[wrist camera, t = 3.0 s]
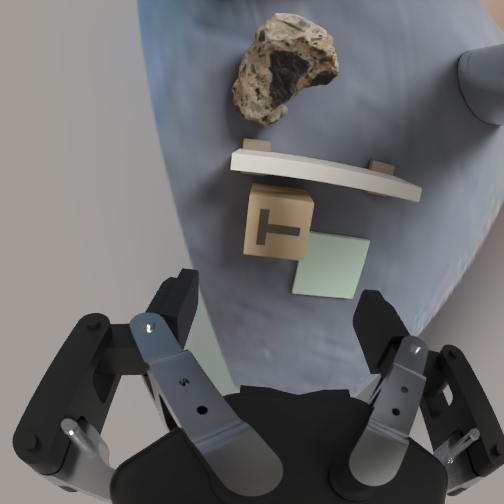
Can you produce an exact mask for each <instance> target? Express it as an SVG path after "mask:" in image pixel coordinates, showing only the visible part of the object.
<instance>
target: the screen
mask: <svg viewBox="0 0 504 504" xmlns="http://www.w3.org/2000/svg"><path fill="white" fill-rule="evenodd" d="M270 147H271V141H265V140H257V139H247V138H244V141H243V149H238V150H237V151H235V152H233V153H232V160H231V170H237V171H240V173H242V174H251V175H259V176H267V174H272V175H279V176H287V177H294V178H300V179H307V180H313V181H319V182H325V183H331V184H336V185H342V186H347V187H352V188H358V189H363V190H364V191H365V192H367V193H370V194H375V195H380V196H384V197H389V195H390V196H395V197H399V198H403V199H407V200H411V201H415V202H419V200H420V196H421V191H422V188H420V187H418V186H416V185H414V184H412V183H409V182H407V181H405V180H403V179H400V178H398V177H396V176H393V174H394V169H395V166H394V165H390V164H387V163H383V162H379V161H375V160H371V159H370V164H369V169H365V168H360V167H356V166H351V165H346V164H342V163H336V162H331V161H326V160H320V159H315V158H309V157H303V156H296V155H289V154H282V153H275V152H270Z"/></svg>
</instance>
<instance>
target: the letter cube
mask: <svg viewBox="0 0 504 504" xmlns="http://www.w3.org/2000/svg"><path fill="white" fill-rule="evenodd" d="M313 209H314V202H313V200H312V199H311V197H310V195H309V194H308V192H307V191H306V190H303V189H296V188H289V187H282V186H275V185H267V184H259V183H253V184H252V188H251V192H250V197H249V206H248V215H247V224H246V233H245V242H244V252H243V254H248V255H256V256H265V257H273V258H281V259H289V260H298V261H303V259H304V255H305V250H306V245H307V240H308V235H309V230H310V225H311V220H312V214H313Z"/></svg>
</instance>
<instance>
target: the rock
mask: <svg viewBox="0 0 504 504" xmlns="http://www.w3.org/2000/svg"><path fill="white" fill-rule="evenodd" d="M334 51H335V47H334V46H333V38H332V36H330V35H329V34H327V32H326V31H325V30H324V29H323V28H322V27H320V26H318V25H316V24H314V23H312V22H311V21H308V20H306V19H304V18H303V17H301V16H299V15H296V14H295V15H293V14H286V13H274V14H273V16H272V17H271V18H269V19H268V20H267V21H266V22H265V23H264V24H262V25H261V26H260V27H258V29H257V31H256V34H255V41H254V43H253V44H252V46H251V47H250V48H249V50H248V51H247V52H246V53H245V56H244V57H243V59H242V61H241V65H240V66H239V68H240V69H239V72H238V74H239V76H238V79H237V80H236V81H235V83H234V85H233V87H232V88H231V90H232V92H233V94H234V99H233V105H234V106H235V108H236V109H237V111H239V112H240V113H242V115H243V116H244V118H245V119H247V120H250V121H252V122H255V123H257V124H260V125H264V126H265V127H268V126H271V127H272V126H273V125H274V124H275V122H277V121H278V120H279V118H281V117H284V116H286V115H287V112H288V110H287V108H286V107H285V106H284V105H283V104H284V103H286V102H288V101H289V100H291V99H292V98H293V97H294V96H296V95H297V94H298V92H299V91H300V90H302V89H303V88H308V87H311V86H317V85H327V84H329V83H330V82H331V81H332V80H333V79H334V78H335V77H336V76H337V75H338V72H339V64H338V62H337V54H336V53H335V52H334Z"/></svg>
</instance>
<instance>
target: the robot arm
mask: <svg viewBox="0 0 504 504" xmlns="http://www.w3.org/2000/svg"><path fill="white" fill-rule="evenodd" d="M458 79H459V84H460V88H461V91H462V94H463V96H464V98H465V100H466V102H467V104H468V106H469V107H470V109H471V110H472V112H473V113H474V114H475V115H476V116H477V117H478V118H479V119H480V120H482V121H484V122H485V123H489V124H496V125H504V44H501V45H495V46H490V47H485V48H480V49H476V50H471V51H467V52H465V53H464V54H462V56H461V57H460V60H459V63H458ZM198 284H199V272H198V270H192V269H184V268H183V269H182V270H181V272H180V274H179V275H178V277H177V278H173V277H170V278H168V279H167V280H165V281H164V282H163V283H162V284H161V286H160V288H159V290H158V291H157V293H156V295H155V296H154V298H153V300H152V301H151V303H150V305H149V307H148V309H147V310H146V312H145V313H141V314H138V315H136V316H135V317H134V318H133V319H132V320H131V321H130V323H129V324H110V321H109V319H108V317H107V316H105V315H103V314H100V313H92V314H88V315H86V316H84V317H82V318H81V319H80V320H79V321H78V323H77V324H76V326H75V327H74V329H73V330H72V332H71V333H70V335H69V336H68V338H67V339H66V341H65V342H64V344H63V346H62V347H61V349H60V350H59V352H58V353H57V355H56V357H55V358H54V360H53V362H52V363H51V365H50V366H49V368H48V370H47V372H46V373H45V375H44V377H43V378H42V380H41V382H40V384H39V386H38V387H37V389H36V391H35V393H34V395H33V397H32V398H31V400H30V402H29V404H28V406H27V408H26V410H25V412H24V414H23V416H22V418H21V420H20V422H19V424H18V426H17V429H16V431H15V433H14V436H13V447H14V450H15V452H16V454H17V455H18V457H19V458H20V459H21V460H23V461H24V462H25V463H26V464H28V465H29V466H30V467H31V468H32V469H33V470H34V471H35V472H37V473H38V474H39V475H41V476H42V477H44V478H45V479H47V480H48V481H50V482H51V483H53V484H55V485H57V486H59V487H60V488H62V489H64V490H66V491H69V492H77V491H80V492H82V493H85V494H87V495H90V496H93V497H95V498H98V499H100V500H103V501H106V502H109V503H112V504H445V497H446V494H447V495H449V496H455V495H458V494H459V493H461V492H462V491H464V490H466V489H468V488H469V487H471V486H473V485H474V484H476V483H477V482H479V481H480V480H482V479H483V478H485V477H486V476H488V475H489V474H491V473H492V472H494V471H495V470H496V469H498V468H499V467H500V466H502V465H503V464H504V435H503V432H502V430H501V428H500V425H499V423H498V420H497V418H496V416H495V414H494V411H493V409H492V407H491V405H490V403H489V401H488V399H487V396H486V394H485V392H484V391H483V389H482V387H481V385H480V383H479V381H478V379H477V377H476V375H475V373H474V372H473V370H472V368H471V366H470V364H469V363H468V361H467V359H466V358H465V356H464V354H463V353H462V352H461V350H460V349H458V348H457V347H455V346H453V345H445V346H443V348H442V350H441V351H440V353H439V352H434V351H430V350H428V347H427V345H426V343H425V342H424V341H422V340H421V339H420V338H418V337H415V336H410V334H409V332H408V330H407V329H406V327H405V325H404V324H403V322H402V320H400V317H399V315H397V312H396V310H395V309H394V307H393V306H392V305H391V304H389V303H388V302H387V301H385V300H384V298H383V296H382V295H381V293H380V292H379V291H377V290H364V291H363V292H362V294H361V297H360V300H359V302H358V305H357V308H356V310H355V313H354V316H353V327H354V330H355V332H356V335H357V337H358V340H359V343H360V345H361V348H362V351H363V353H364V356H365V359H366V362H367V364H368V367H369V370H370V373H371V374H381V377H380V379H379V380H378V382H377V384H376V386H375V388H374V390H373V392H372V394H371V396H370V398H369V400H368V401H367V403H366V402H364V401H361V400H359V399H356V398H352V397H350V394H349V390H348V389H344V390H321V391H316V392H311V393H306V394H301V395H295V394H291V393H287V392H283V391H279V390H275V389H272V388H266V387H254V386H244V385H241V387H240V393H234V394H229V395H226V396H222V395H221V394H220V393H219V391H218V390H217V389H216V387H215V386H214V384H213V383H212V382H211V380H210V379H209V378H208V376H207V375H206V373H205V372H204V371H203V369H202V367H201V366H200V365H199V363H198V362H197V360H196V359H195V357H194V356H193V354H192V353H191V352H190V351H189V350H184V346H185V343H186V340H187V337H188V334H189V331H190V328H191V325H192V322H193V319H194V316H195V313H196V310H197V305H198ZM183 350H184V351H183ZM122 375H141V376H142V378H143V380H144V382H145V385H146V387H147V389H148V391H149V393H150V395H151V397H152V399H153V402H154V404H155V405H156V408H157V410H158V412H159V415H160V417H161V419H162V422H163V424H164V426H165V428H166V429H167V431H168V433H167V434H166V435H164V436H163V437H161V438H160V439H158V440H157V441H155V442H154V443H152V444H151V445H149V446H148V447H146V448H145V449H143V450H142V451H140V452H138V453H137V454H135V455H134V456H132V457H131V458H129V459H127V460H126V461H124V462H123V463H122V464H121V465H119V467H118V468H117V469H116V470H115V469H113V468H111V467H110V464H109V449H108V446H107V444H106V443H105V442H104V440H103V439H102V437H101V436H100V434H101V431H102V428H103V425H104V422H105V419H106V416H107V414H108V411H109V408H110V405H111V402H112V400H113V397H114V394H115V392H116V389H117V386H118V384H119V381H120V379H121V376H122ZM447 385H449V387H450V389H451V391H452V394H453V400H452V403H451V404H450V405H448V403H447V400H446V398H445V396H444V393H443V390H444V389H445V387H446V386H447ZM419 406H420V409H421V412H422V415H423V418H424V421H425V424H426V428H427V431H428V434H429V437H430V441H431V444H432V448H433V452H434V454H433V455H432V454H431V453H430V452H428V451H427V450H426V449H424V448H423V447H422V446H421V445H419V444H418V443H417V442H415V441H414V440H413V439H412V438H410V437H409V433H410V431H411V428H412V425H413V422H414V419H415V416H416V413H417V410H418V407H419Z"/></svg>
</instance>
